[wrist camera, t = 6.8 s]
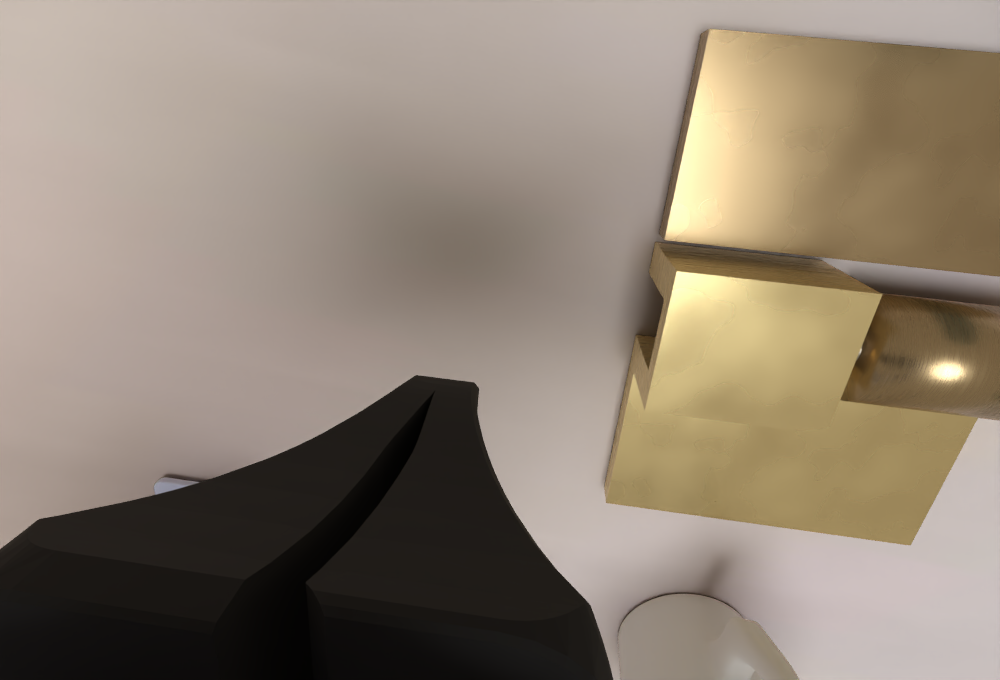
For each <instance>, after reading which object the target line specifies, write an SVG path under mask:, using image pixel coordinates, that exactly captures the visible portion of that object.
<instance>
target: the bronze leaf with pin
mask: <svg viewBox="0 0 1000 680" xmlns="http://www.w3.org/2000/svg"><path fill="white" fill-rule="evenodd" d="M659 234H660V235H661V237H662V238H663V239H664V240H669V241H678V242H687V243H696V244H705V245H715V246H724V247H733V248H742V249H751V250H761V251H770V252H779V253H788V254H797V255H806V256H816V257H825V258H834V259H843V260H852V261H862V262H871V263H880V264H889V265H898V266H908V267H917V268H926V269H935V270H944V271H954V272H963V273H972V274H981V275H990V276H1000V53H992V52H980V51H968V50H956V49H944V48H932V47H920V46H908V45H896V44H884V43H872V42H860V41H849V40H837V39H825V38H813V37H801V36H789V35H777V34H765V33H753V32H741V31H729V30H717V29H709V30H707V31H705V32H703V33H702V34H701V37H700V41H699V46H698V51H697V56H696V61H695V65H694V70H693V75H692V80H691V84H690V89H689V94H688V99H687V103H686V108H685V113H684V118H683V123H682V127H681V132H680V137H679V142H678V146H677V151H676V156H675V161H674V165H673V170H672V175H671V180H670V184H669V189H668V194H667V199H666V204H665V208H664V213H663V218H662V223H661V227H660V232H659ZM881 294H882V297H881V299H880V302H879V304H878V307H877V309H876V312H875V314H874V317H873V319H872V322H871V324H870V327H869V329H868V332H867V334H866V337H865V339H864V342H863V344H862V347H861V349H860V352H859V354H858V357H857V359H856V362H855V364H854V367H853V369H852V372H851V374H850V377H849V379H848V382H847V384H846V387H845V389H844V392H843V394H842V397H841V399H840V400H842V401H848V402H856V403H864V404H872V405H880V406H888V407H896V408H904V409H912V410H920V411H928V412H936V413H944V414H952V415H960V416H968V417H976V418H984V419H992V420H1000V306H993V305H984V304H975V303H966V302H957V301H948V300H939V299H930V298H921V297H912V296H903V295H895V294H886V293H881Z"/></svg>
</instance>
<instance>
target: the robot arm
mask: <svg viewBox="0 0 1000 680" xmlns="http://www.w3.org/2000/svg"><path fill="white" fill-rule="evenodd" d="M478 394H479V388H478V387H477V385H476V384H475V383H473V382H466V381H458V380H450V379H442V378H434V377H426V376H418V375H416V376H414V377H413V378H411V379H410V380H408V381H406V382H405V383H403V384H402V385H401V386H399V387H398V388H396V389H395V390H393V391H392V392H390V393H389V394H387V395H386V396H384V397H383V398H381V399H380V400H378V401H376V402H375V403H373V404H372V405H370V406H369V407H367V408H366V409H364V410H363V411H361V412H359V413H358V414H356V415H354V416H352V417H351V418H349V419H347V420H345V421H344V422H342V423H340V424H338V425H337V426H335V427H333V428H331V429H329V430H328V431H326V432H324V433H322V434H321V435H319V436H317V437H315V438H313V439H311V440H309V441H307V442H304V443H302V444H300V445H298V446H296V447H294V448H291V449H289V450H287V451H285V452H282V453H280V454H278V455H276V456H273V457H271V458H268V459H266V460H263V461H260V462H257V463H255V464H252V465H249V466H246V467H244V468H241V469H238V470H235V471H232V472H230V473H227V474H224V475H221V476H219V477H216V478H213V479H209V480H206V481H203V482H195V481H188V480H181V479H174V478H167V477H166V478H161V479H159V480H158V481H157V482H156V483H155V485H154V491H155V495H153V496H149V497H145V498H140V499H136V500H132V501H128V502H123V503H118V504H114V505H109V506H104V507H99V508H94V509H89V510H84V511H79V512H74V513H69V514H65V515H60V516H54V517H48V518H43V519H39V520H37V521H36V522H35V523H33V524H32V525H31V526H30V527H28V528H27V529H26V530H25V531H23V532H22V533H21V534H19V535H18V536H17V537H16V538H14V539H13V540H12V541H10V542H9V543H8V544H7V545H5V546H4V547H3V548H1V549H0V680H613V677H612V672H611V668H610V664H609V660H608V657H607V654H606V650H605V647H604V644H603V640H602V637H601V634H600V631H599V628H598V625H597V623H596V620H595V617H594V614H593V611H592V608H591V606H590V604H589V603H588V602H587V601H586V600H585V599H584V598H583V597H582V596H581V595H580V594H579V593H578V592H577V591H576V589H575V588H574V587H573V586H572V585H571V584H570V583H569V582H568V581H567V580H566V579H565V578H564V577H563V576H562V575H561V574H560V573H559V572H558V571H557V570H556V569H555V567H554V566H553V565H552V563H551V562H550V561H549V560H548V558H547V557H546V556H545V555H544V553H543V552H542V551H541V550H540V548H539V547H538V546H537V544H536V543H535V541H534V540H533V538H532V537H531V535H530V534H529V532H528V531H527V529H526V528H525V526H524V525H523V523H522V522H521V520H520V519H519V518H518V516H517V515H516V513H515V511H514V510H513V508H512V506H511V504H510V502H509V500H508V499H507V497H506V495H505V493H504V491H503V489H502V487H501V485H500V483H499V481H498V479H497V476H496V474H495V472H494V469H493V467H492V464H491V462H490V459H489V456H488V453H487V450H486V447H485V444H484V441H483V437H482V433H481V429H480V425H479V420H478V414H477V407H478Z"/></svg>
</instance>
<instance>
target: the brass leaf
mask: <svg viewBox="0 0 1000 680" xmlns="http://www.w3.org/2000/svg"><path fill="white" fill-rule="evenodd" d="M649 274H650V276H651V277H652V279H653V281H654V283H655V285H656V286H657V288H658V290H659V292H660V293H661V295H662V297H663V299H664V303H663V307H662V312H661V316H660V321H659V325H658V329H657V334H656V337H651V336H643V335H636V337H635V342H634V347H633V351H632V356H631V361H630V366H629V371H628V375H627V380H626V385H625V390H624V395H623V399H622V404H621V409H620V414H619V419H618V423H617V428H616V433H615V438H614V443H613V448H612V452H611V457H610V462H609V467H608V472H607V476H606V481H605V486H604V489H605V497H606V503H611V504H618V505H626V506H633V507H640V508H647V509H654V510H661V511H668V512H676V513H683V514H690V515H697V516H704V517H711V518H718V519H725V520H733V521H740V522H747V523H754V524H761V525H768V526H775V527H783V528H790V529H797V530H804V531H811V532H818V533H825V534H832V535H840V536H847V537H854V538H861V539H868V540H875V541H882V542H890V543H897V544H904V545H911V543H912V541H913V540H914V538H915V536H916V534H917V532H918V530H919V528H920V526H921V524H922V523H923V521H924V519H925V517H926V515H927V513H928V511H929V509H930V507H931V506H932V504H933V502H934V500H935V498H936V496H937V494H938V492H939V490H940V489H941V487H942V485H943V483H944V481H945V479H946V477H947V475H948V473H949V472H950V470H951V468H952V466H953V464H954V462H955V460H956V458H957V456H958V455H959V453H960V451H961V449H962V447H963V445H964V443H965V441H966V439H967V438H968V436H969V434H970V432H971V430H972V428H973V426H974V424H975V422H976V421H977V419H978V418H976V417H968V416H960V415H952V414H944V413H936V412H928V411H920V410H912V409H904V408H896V407H888V406H880V405H872V404H864V403H856V402H848V401H842V400H840V399H841V397H842V394H843V392H844V389H845V387H846V384H847V382H848V379H849V377H850V374H851V372H852V369H853V367H854V364H855V362H856V359H857V357H858V354H859V352H860V349H861V347H862V344H863V342H864V339H865V337H866V334H867V332H868V329H869V327H870V324H871V322H872V319H873V317H874V314H875V312H876V309H877V307H878V304H879V302H880V299H881V297H882V294H881V293H879V292H878V291H876V290H874V289H872V288H870V287H869V286H867V285H865V284H863V283H861V282H860V281H858V280H856V279H854V278H853V277H851V276H849V275H847V274H845V273H844V272H842V271H840V270H838V269H836V268H835V267H833V266H831V265H829V264H827V263H826V262H824V261H822V260H815V259H806V258H797V257H787V256H778V255H769V254H760V253H751V252H742V251H732V250H723V249H714V248H705V247H696V246H687V245H677V244H668V243H659V242H655V246H654V251H653V255H652V260H651V265H650V270H649Z"/></svg>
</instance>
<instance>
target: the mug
mask: <svg viewBox="0 0 1000 680" xmlns="http://www.w3.org/2000/svg"><path fill="white" fill-rule="evenodd" d="M618 652H619V666H620V680H799V678H798V676H797V674H796V673H795V671H794V670H793V668H792V667H791V665H790V664H789V662H788V661H787V660H786V658H785V657H784V656H783V654H782V653H781V652H780V650H779V649H778V648H777V647H776V645H775V644H774V643H773V642H772V640H771V639H770V638H769V636H768V635H767V634H766V633H765V631H764V630H763V629H762V627H761V626H760V625H759V624H758V623H757V622H755V621H751V620H746V619H743V618H742V617H741V615H740V614H739V613H738V612H736V611H735V610H734V609H733V608H731V607H730V606H728V605H726V604H725V603H723V602H721V601H718V600H716V599H713V598H710V597H706V596H702V595H696V594H672V595H666V596H661V597H658V598H654V599H652V600H649V601H647V602H645V603H643V604H641V605H640V606H638V607H637V608H635V609H634V610H633V611H632V612H631V613H630V614H629V615H628V616H627V617H626V618H625V620H624V621H623V623H622V625H621V627H620V630H619V634H618Z"/></svg>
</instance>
